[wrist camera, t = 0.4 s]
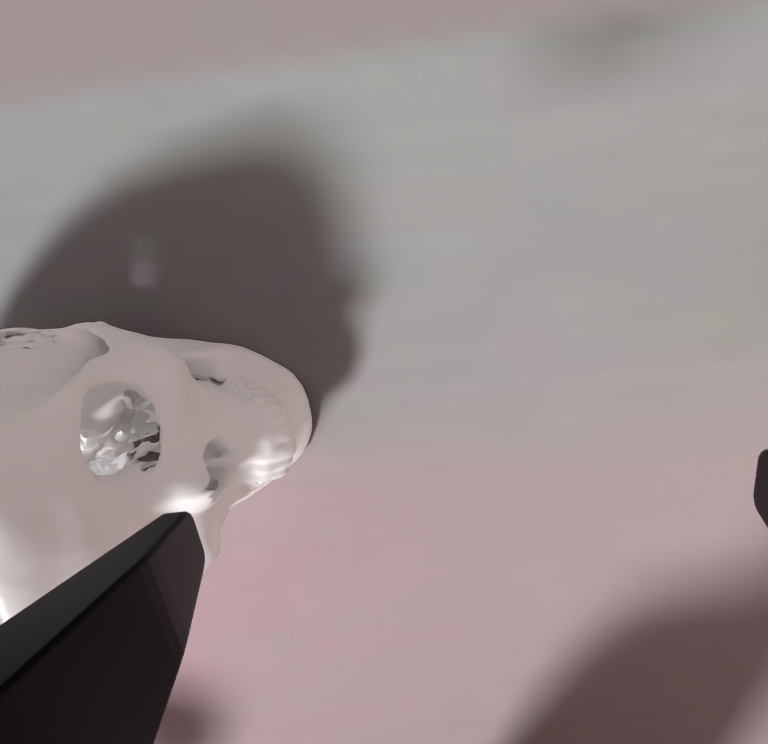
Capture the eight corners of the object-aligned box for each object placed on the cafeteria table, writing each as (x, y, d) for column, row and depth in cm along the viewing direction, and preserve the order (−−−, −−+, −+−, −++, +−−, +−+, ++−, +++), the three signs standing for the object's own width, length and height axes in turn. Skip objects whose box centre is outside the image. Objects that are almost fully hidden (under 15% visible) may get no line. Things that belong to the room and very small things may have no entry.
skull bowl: (369, 535, 23) (72, 781, 13) (171, 482, 31) (-101, 612, 22) (334, 282, 21) (-60, 363, 11) (130, 297, 29) (-199, 351, 19)
